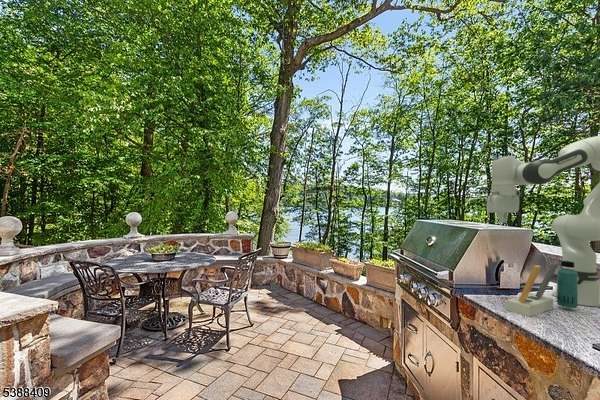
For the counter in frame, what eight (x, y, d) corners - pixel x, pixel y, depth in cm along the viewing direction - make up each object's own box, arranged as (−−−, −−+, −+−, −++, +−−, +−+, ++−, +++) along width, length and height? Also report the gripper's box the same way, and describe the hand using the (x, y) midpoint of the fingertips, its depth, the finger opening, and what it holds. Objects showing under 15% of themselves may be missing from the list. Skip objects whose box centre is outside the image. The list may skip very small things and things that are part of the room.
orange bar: (522, 299, 117) (537, 264, 112) (525, 301, 116) (541, 266, 111) (518, 300, 115) (533, 265, 111) (521, 302, 114) (537, 267, 110)
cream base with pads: (530, 302, 127) (530, 292, 127) (553, 308, 120) (553, 298, 120) (506, 309, 118) (506, 299, 118) (529, 316, 110) (529, 305, 110)
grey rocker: (538, 294, 123) (555, 262, 118) (542, 296, 122) (558, 263, 117) (535, 295, 122) (551, 262, 117) (538, 297, 121) (555, 264, 116)
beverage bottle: (568, 306, 122) (569, 259, 123) (582, 312, 116) (583, 263, 116) (552, 305, 123) (552, 259, 123) (565, 311, 116) (565, 262, 117)
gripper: (497, 191, 121) (497, 223, 121) (522, 192, 131) (522, 222, 131) (482, 191, 127) (482, 222, 127) (507, 192, 136) (506, 221, 136)
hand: (502, 222), depth 129 cm, fingers closed
